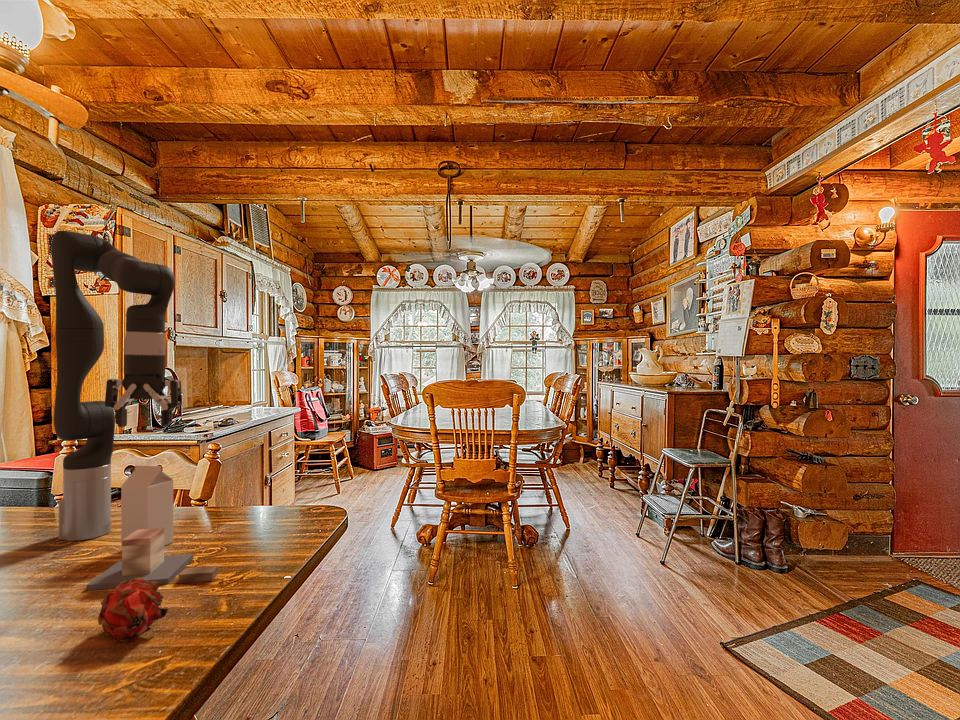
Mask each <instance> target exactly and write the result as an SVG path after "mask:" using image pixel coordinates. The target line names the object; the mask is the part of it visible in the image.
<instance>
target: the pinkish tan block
mask: <svg viewBox="0 0 960 720" xmlns="http://www.w3.org/2000/svg"><path fill="white" fill-rule="evenodd" d="M164 556H165V546H164V528H154V529H139V530H136V531H135V532H133V533H132V534H130V535H129V536H127V537H126V538H124V539H123V540H122V550H121V559H122V576H125V575H137V574H149V573H151V572H152V571H154V570H155V569H156V568H157V567H158V566H159V565H160V564H161V563H162V562H164Z"/></svg>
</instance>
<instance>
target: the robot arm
mask: <svg viewBox="0 0 960 720" xmlns="http://www.w3.org/2000/svg"><path fill="white" fill-rule="evenodd" d="M51 239H52V240H51V246H50V248H51V249H50V252H51V253H50V255H51V265H52V271H53V273H52V274H53V281H54V282H53V283H54V288H55V289H54V291H55V349H56V352H55V353H56V387H55V395H54V408H53V427H54V432H55V435H56V436H57V437H58V439H60V440H61V441H63V442H69V441H70V442H71V441H78V440H86V442H85V443H84V444H83V445H82V446H81V447H80V448H78V449H77V450H75V451H73V452H71V453H68V454H67V455H65V456H64V458H63V461H62V466H63V467H62V480H63V481H62V482H63V483H62V484H63V485H62V492H63V493H62V494H63V495H62V497H63V498H62V499H59V501H58V540H61V541H62V540H64V541H69V542H75V541H84V540H90V539H95V538H98V537H101V536H105V535H106V534H108V533H110V532H111V531H112V456H113V452H114V448H115V447H114V445H115V444H114V442H115V430H116V429H115V427H116V425H117V427H118V428H124V427H127V425H128V409H126V408H127V407H128V406H129V405H130V403H131V402H132V401H134V400H141V399H144V400H153V401H154V402H155V403H156V404H158V405H159V407H160V408H161V411H160V413H161V414H160V416H161V417H160V418H161V419H160V422H161V423H160V426H161V428H166V427H169V426H170V424H171V423H172V422H173V409H174V408H177V407H180V406H182V405H183V401H182V399H183V397H182V393H183V392H182V381H181V380H180V379H172V380H167V379H166V377H165V376H166V361H167V360H166V356H167V355H166V354H167V353H166V351H167V347H166V346H167V344H166V336H165V335H166V313H167V310H168V307H169V303H170V300H171V297H172V294H173V292H174V289H175V286H176V277H175V276H176V275H175V274H174V272H173V270H172V269H171V267H168V266H167V265H164V264H158V263H152V262H147V261H142V260H141V259H139V258H137V257H136V256H134V255H130V254H127V253H125V252H123V251H120V250H119V249H118V248H117V247H115V246H114V245H113V244H111V243H110V242H109V241H108V240H107V239H105V238H102V237H100V236H96V235H91V234H87V233H81V232H75V231H71V230H63V229H61V230H57V231H56V232H55V233H54V234H53V235H52V238H51ZM76 271H80V272H89V273H101V275H103V276H104V277H105V278H107V279H108V280H110V281H112V282H115V283H116V285H117V286H118V288H119V290H121V291H125V292H127V293H131V294H137V295H138V294H139V295H140V294H141V295H146V296H147V295H148V296H150V299H149V300H148V302H147V303H144V304H143V303H142V304H133V305H132V304H131V305H130V306H128V307H127V309H126V313H125V336H124V342H123V375H124V377H123V378H122V379H118V378H109V379H107V380H106V385H105V386H106V387H105V397H104V398H105V399H104V400H93V401H92V400H91V401H81V395H82V389H83V388H82V387H83V384H84V382H85V379H86V378H87V376H88V375H89V373H90V372H91V370H92V369H93V368H94V366H95V365H96V364H97V363H98V361H99V359H100V358H101V356H102V354H103V352H104V349H105V331H104V329H105V326H104V325H105V324H104V322H103V320H102V318H101V316H100V315H99V313H98V312H97V311H96V309H95V308H94V307H93V306H92V304H91V303H90V301H88V299H87V298H86V297H85V295H84V293H83V291H82V290H81V289H80V286H79V283H78V280H77V276H76ZM121 387H123V388H124V390H125V392H124V393H123V394H121V396H120V397H119V391H120V389H121ZM166 387H167V390H169V392H170V399H169V397H168V395H167V394H166V393H165V392H164V389H165V388H166ZM114 410H115V411H114Z"/></svg>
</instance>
